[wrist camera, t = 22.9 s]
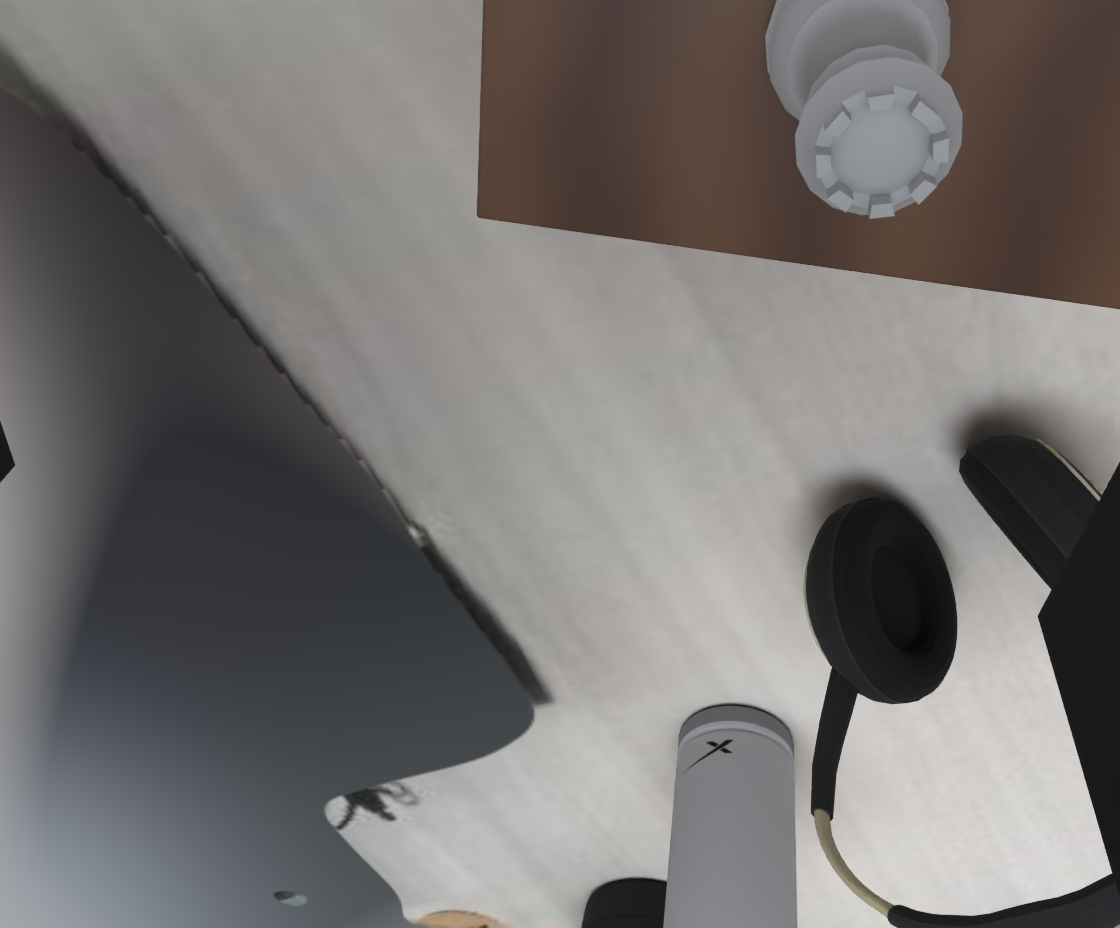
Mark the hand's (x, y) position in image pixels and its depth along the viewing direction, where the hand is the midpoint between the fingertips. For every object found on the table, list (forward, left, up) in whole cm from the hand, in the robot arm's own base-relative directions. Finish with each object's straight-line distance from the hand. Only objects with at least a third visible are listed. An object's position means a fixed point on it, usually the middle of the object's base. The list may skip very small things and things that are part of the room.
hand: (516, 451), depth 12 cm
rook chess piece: (+5, 0, -19) cm, 20 cm away
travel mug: (+9, -40, -28) cm, 50 cm away
